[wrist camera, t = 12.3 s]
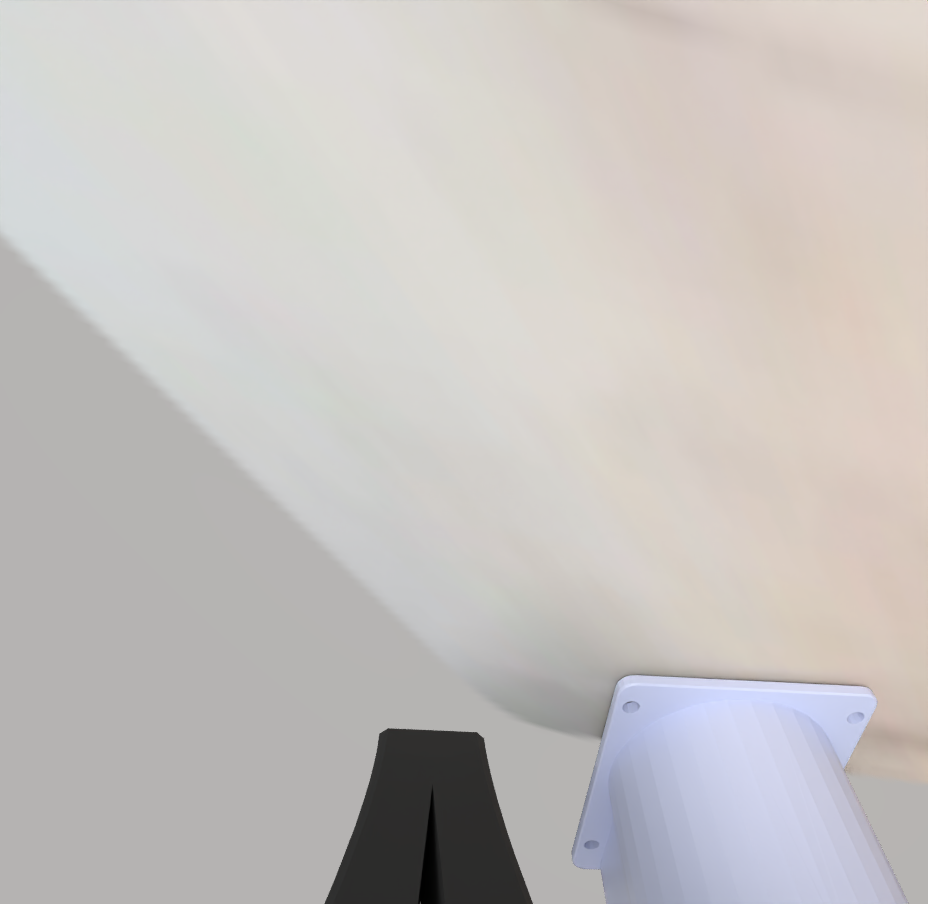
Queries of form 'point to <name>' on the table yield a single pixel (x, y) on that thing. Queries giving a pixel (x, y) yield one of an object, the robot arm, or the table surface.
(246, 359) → the table surface
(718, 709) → the robot arm
